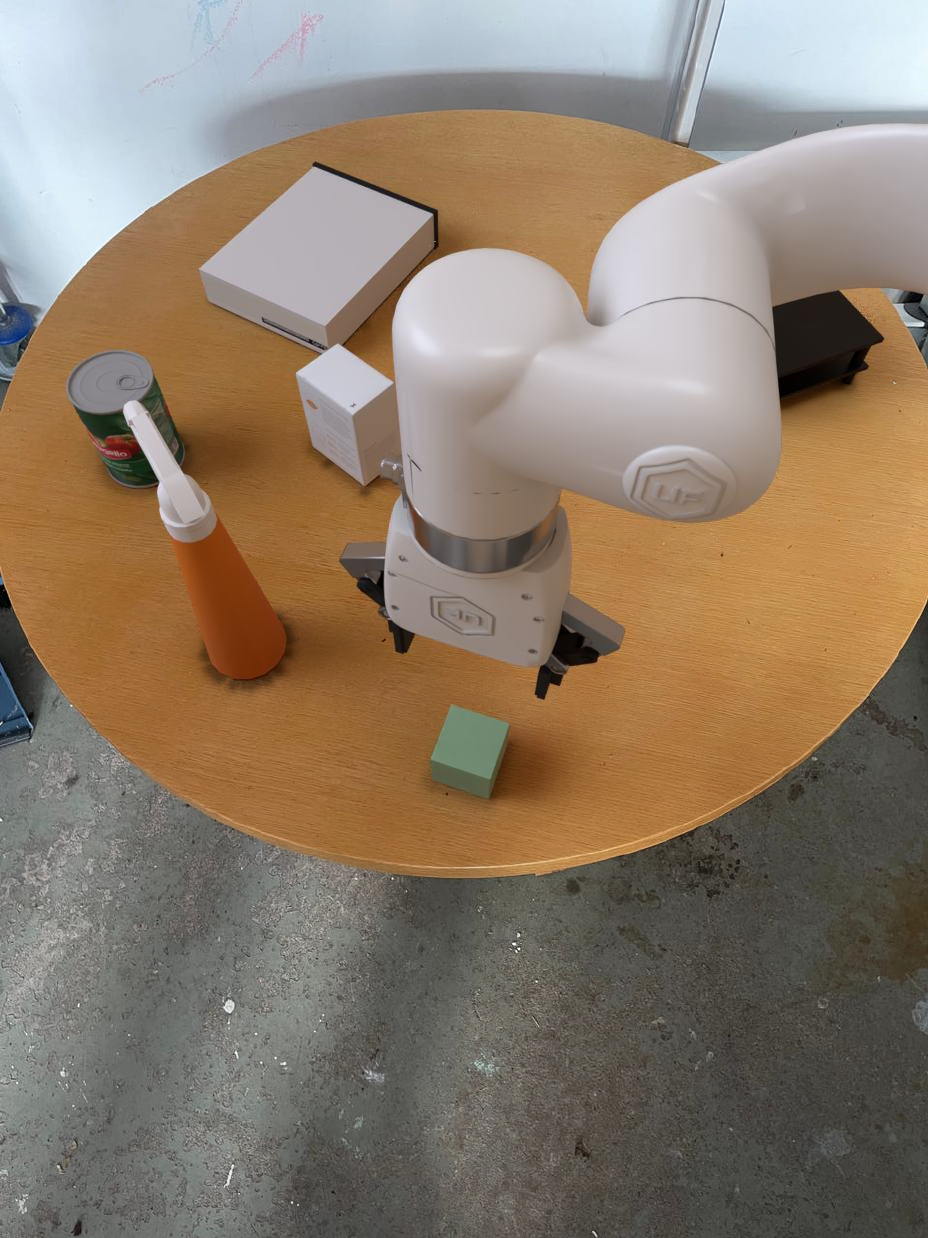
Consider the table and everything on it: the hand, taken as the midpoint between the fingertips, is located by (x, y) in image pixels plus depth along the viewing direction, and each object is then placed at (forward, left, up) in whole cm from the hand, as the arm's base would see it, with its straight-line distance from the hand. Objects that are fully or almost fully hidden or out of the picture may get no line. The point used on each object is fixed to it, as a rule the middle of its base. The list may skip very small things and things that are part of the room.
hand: (476, 657), depth 57 cm
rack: (-16, -53, -18) cm, 58 cm away
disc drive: (+36, -51, -18) cm, 65 cm away
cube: (0, +1, -18) cm, 18 cm away
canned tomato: (+42, -19, -18) cm, 50 cm away
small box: (+22, -27, -18) cm, 39 cm away
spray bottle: (+24, -4, -18) cm, 30 cm away
